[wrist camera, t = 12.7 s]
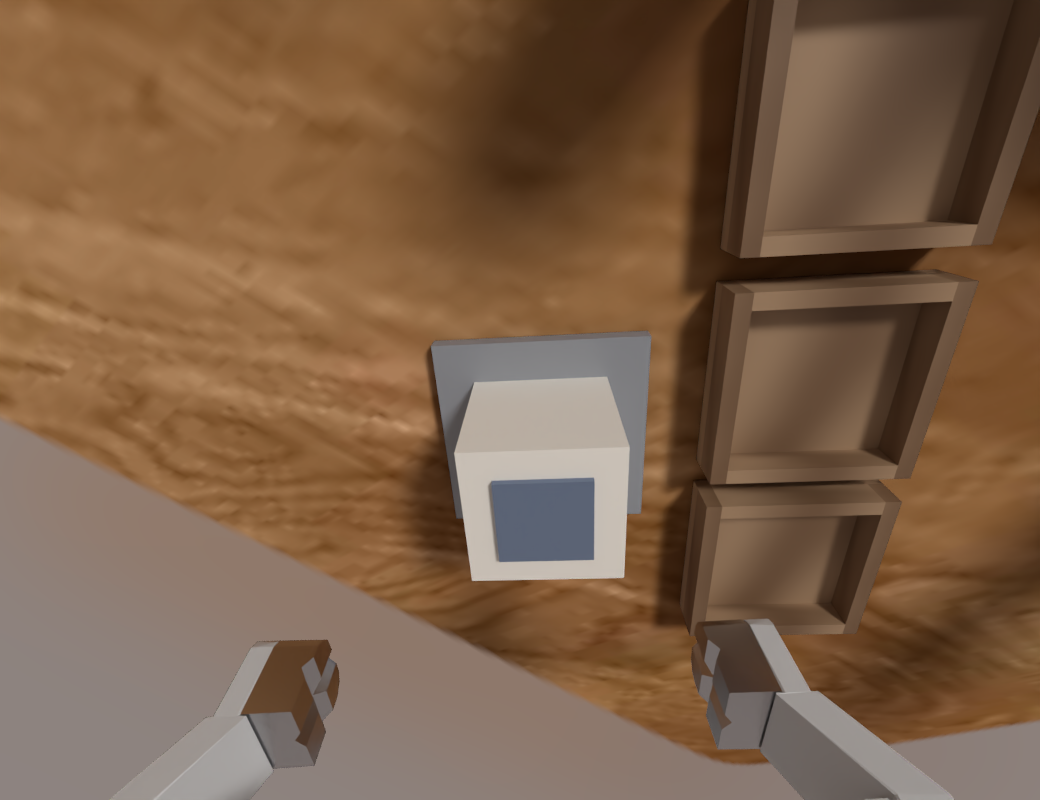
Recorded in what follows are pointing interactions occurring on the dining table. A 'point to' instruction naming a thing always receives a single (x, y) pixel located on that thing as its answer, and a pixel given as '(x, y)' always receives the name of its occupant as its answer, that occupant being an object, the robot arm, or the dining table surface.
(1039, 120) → the dining table surface
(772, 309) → the tray
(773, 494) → the tray
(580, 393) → the white cube
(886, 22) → the tray
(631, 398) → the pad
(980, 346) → the dining table surface
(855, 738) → the robot arm
